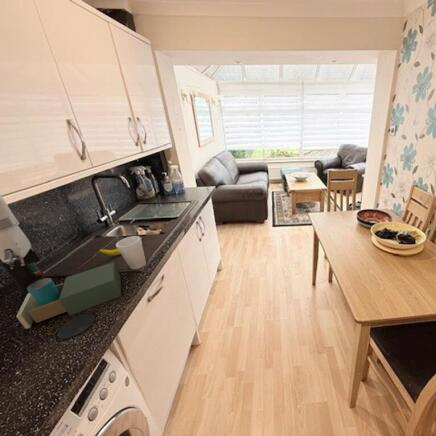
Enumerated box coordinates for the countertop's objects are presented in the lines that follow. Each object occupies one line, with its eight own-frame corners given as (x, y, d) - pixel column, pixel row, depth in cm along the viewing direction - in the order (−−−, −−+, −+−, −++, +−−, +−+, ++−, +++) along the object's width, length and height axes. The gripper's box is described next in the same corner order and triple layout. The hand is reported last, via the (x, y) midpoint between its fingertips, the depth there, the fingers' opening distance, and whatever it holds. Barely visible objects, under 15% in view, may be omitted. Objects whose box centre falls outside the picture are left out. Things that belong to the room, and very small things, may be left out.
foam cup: (145, 269, 107) (134, 245, 101) (123, 273, 106) (111, 248, 100) (152, 257, 116) (143, 234, 110) (132, 260, 114) (122, 237, 109)
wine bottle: (22, 292, 99) (-24, 228, 86) (46, 281, 104) (6, 220, 92) (26, 298, 95) (-22, 233, 82) (51, 287, 100) (9, 224, 87)
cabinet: (69, 315, 85) (58, 299, 82) (75, 292, 96) (65, 277, 93) (121, 295, 92) (113, 280, 89) (120, 276, 104) (113, 261, 100)
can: (40, 315, 83) (24, 292, 79) (44, 304, 88) (29, 282, 84) (63, 306, 86) (49, 284, 82) (66, 296, 91) (53, 275, 87)
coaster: (55, 344, 74) (54, 343, 74) (60, 323, 82) (60, 322, 82) (94, 328, 79) (93, 327, 79) (96, 309, 87) (95, 308, 87)
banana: (145, 246, 126) (141, 235, 124) (103, 261, 116) (97, 250, 113) (144, 244, 128) (140, 234, 126) (102, 259, 118) (96, 248, 115)
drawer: (21, 331, 79) (10, 318, 76) (32, 306, 89) (23, 294, 87) (80, 308, 87) (72, 296, 84) (84, 288, 97) (77, 276, 94)
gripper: (-7, 218, 78) (23, 261, 85) (-32, 239, 65) (6, 287, 72) (24, 212, 81) (50, 253, 89) (6, 230, 68) (39, 277, 76)
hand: (30, 268), depth 81 cm, fingers open, 9 cm apart
